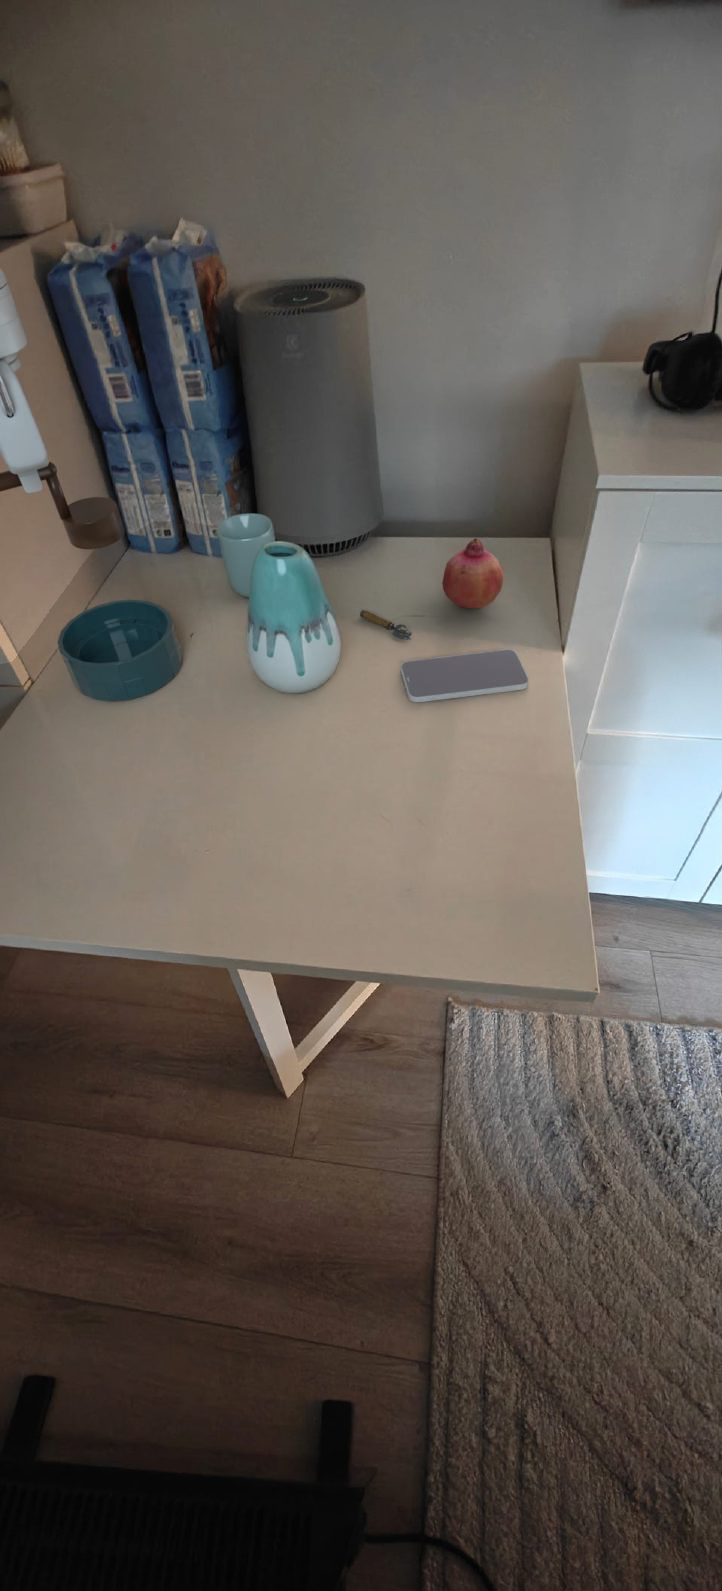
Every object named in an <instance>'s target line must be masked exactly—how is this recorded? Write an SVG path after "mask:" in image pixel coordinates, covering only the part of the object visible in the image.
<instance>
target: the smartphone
mask: <svg viewBox="0 0 722 1591" xmlns="http://www.w3.org/2000/svg"><path fill="white" fill-rule="evenodd" d="M400 674H401V677H402V681H403V684H404V688H405V692H406V694H407V697H408V699H409V701H411V702H413V703H424V702H432V701H440V700H447V699H448V700H449V699H456V698H464V697H474V696H481V695H489V694H497V693H506V692H514V691H522V690H525V689H526V688H528V686H529V683H530V680H529V679H530V678H529V675H528V674H527V672H526V670H525V668H524V665H523V664H522V661H521V659H520V657H519V655H518V653H517V652H516V650H513V649H511V648H510V649H509V648H503V649H497V650H489V651H481V652H480V651H479V652H472V653H463V654H462V653H461V654H455V655H446V656H438V657H430V658H422V659H413V660H407V661H404V662H402V663H401V664H400Z"/></svg>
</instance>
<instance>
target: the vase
mask: <svg viewBox="0 0 722 1591" xmlns="http://www.w3.org/2000/svg"><path fill="white" fill-rule="evenodd" d="M328 599H329V598H328V597H327V594H326V593H325V590H324V587H323V585H322V582H321V579H320V576H319V573H318V570H317V567H316V565H315V563H314V561H313V559H312V557H311V555H310V554H309V553H308V552H307V551H306V549H304V547H302V546H301V545H299V544H297V543H294V542H289V541H285V540H276V541H274V542H269V543H266V544H264V545H263V546H262V547H261V548H260V549H259V551H258V553H257V555H256V557H255V559H254V562H253V566H252V571H251V578H250V594H249V598H248V605H247V614H246V616H247V617H246V628H245V630H246V632H245V647H246V649H245V650H246V655H247V659H248V662H249V665H250V668H252V671H253V672H254V674H255V675H256V677H257V678H258V679H259V680H260V681H261V682H262V683H263V684H265V685H266V686H268V687H269V688H270V689H273V690H275V691H278V692H281V693H285V694H303V693H307V692H311V691H313V690H316V689H318V688H320V687H321V686H322V685H324V684H325V683H326V682H328V680H330V678H331V677H332V676H333V675H334V672H335V671H336V669H337V668H338V664H339V662H340V658H341V652H342V642H341V636H340V635H341V634H340V631H339V627H338V623H337V620H336V616H335V614H334V611H333V609H332V606H331V604H330V601H329V600H328Z"/></svg>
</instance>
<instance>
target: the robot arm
mask: <svg viewBox="0 0 722 1591" xmlns="http://www.w3.org/2000/svg"><path fill="white" fill-rule="evenodd" d="M8 282H9V281H8V279H7V277H6V274H5V273H4V270H3V269H2V268H1V266H0V456H1V458H2V460H3V462H4V464H5V466H6V467H7V469H8V471H10V472H11V473H13V474H18V477H19V479H20V482H21V484H22V486H21V487H22V488H23V490H24V491H25V493H27V494H33V493H37V492H40V491H42V490H43V483H42V481H41V480H40V478H39V475H38V472H37V469H40V468H44V467H46V466H48V464H49V462H50V460H49V458H50V457H49V455H48V454H49V453H48V451H47V447H46V446H45V443H44V440H43V437H42V434H41V432H40V429H39V427H38V424H37V422H36V419H35V416H34V414H33V411H32V409H31V406H30V404H29V401H28V398H27V395H26V394H25V391H24V388H23V387H22V384H21V382H20V381H19V379H18V376H17V374H16V373H15V372H17V371H18V370H19V369H20V368H21V366H22V362H21V359H20V357H19V355H18V353H19V352H20V351H22V350H24V348H26V346H27V345H28V343H29V342H28V337H27V334H26V332H25V329H24V326H23V322H22V320H21V316H20V313H19V311H18V308H17V306H16V303H15V299H14V296H13V293H12V291H11V288H10V285H9V283H8Z"/></svg>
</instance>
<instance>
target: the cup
mask: <svg viewBox="0 0 722 1591" xmlns="http://www.w3.org/2000/svg"><path fill="white" fill-rule="evenodd" d="M216 532H217V533H216V534H217V540H218V545H219V549H220V550H219V551H220V554H221V558H222V562H223V563H222V564H223V568H224V571H225V574H226V577H227V580H228V582H229V584H230V586H231V588H232V589H233V591H234V592H235V593H236V594H237V595H239V596H241V597H244V598H248V599H249V594H250V578H251V571H252V566H253V562H254V559H255V557H256V555H257V553H258V551H259V549H260V548H261V547H262V546H263V545H264V544H266V543H269V542H274V541H277V540H276V535H275V528H274V524H273V521H272V520H271V518H269V517H268V516H267V515H264V514H260V513H249V512H248V513H239V514H235V515H232V516H229V517H226V518H225V519H223V520H222V521H221V522H220V523H219V525H218V527H217V530H216Z"/></svg>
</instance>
